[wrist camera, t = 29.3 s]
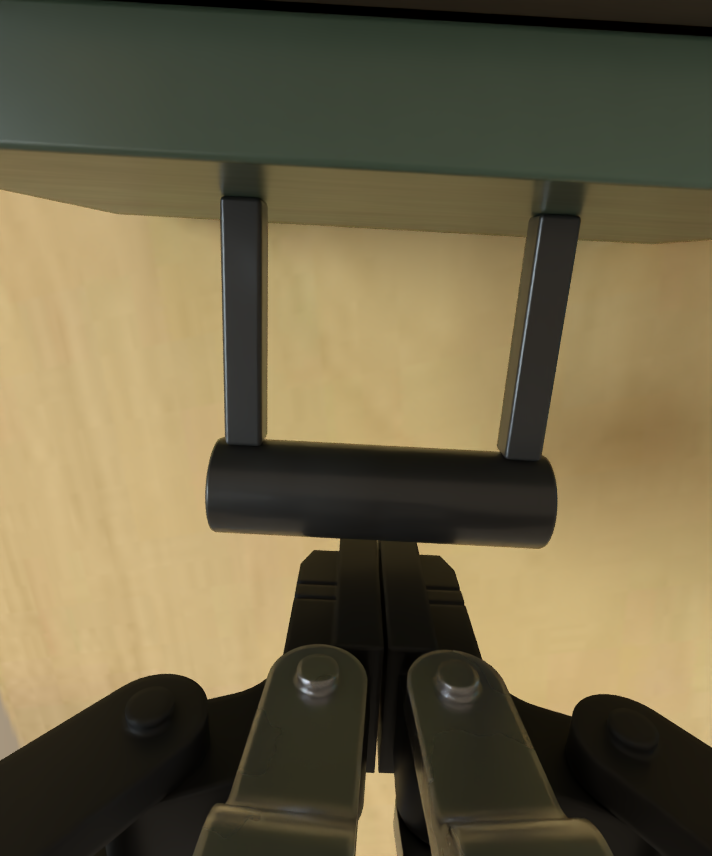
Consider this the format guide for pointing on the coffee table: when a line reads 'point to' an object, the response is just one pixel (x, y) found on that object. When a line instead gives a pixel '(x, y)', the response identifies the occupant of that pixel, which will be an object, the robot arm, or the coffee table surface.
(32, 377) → the coffee table surface
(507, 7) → the cabinet
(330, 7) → the cap
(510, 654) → the coffee table surface
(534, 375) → the drawer
